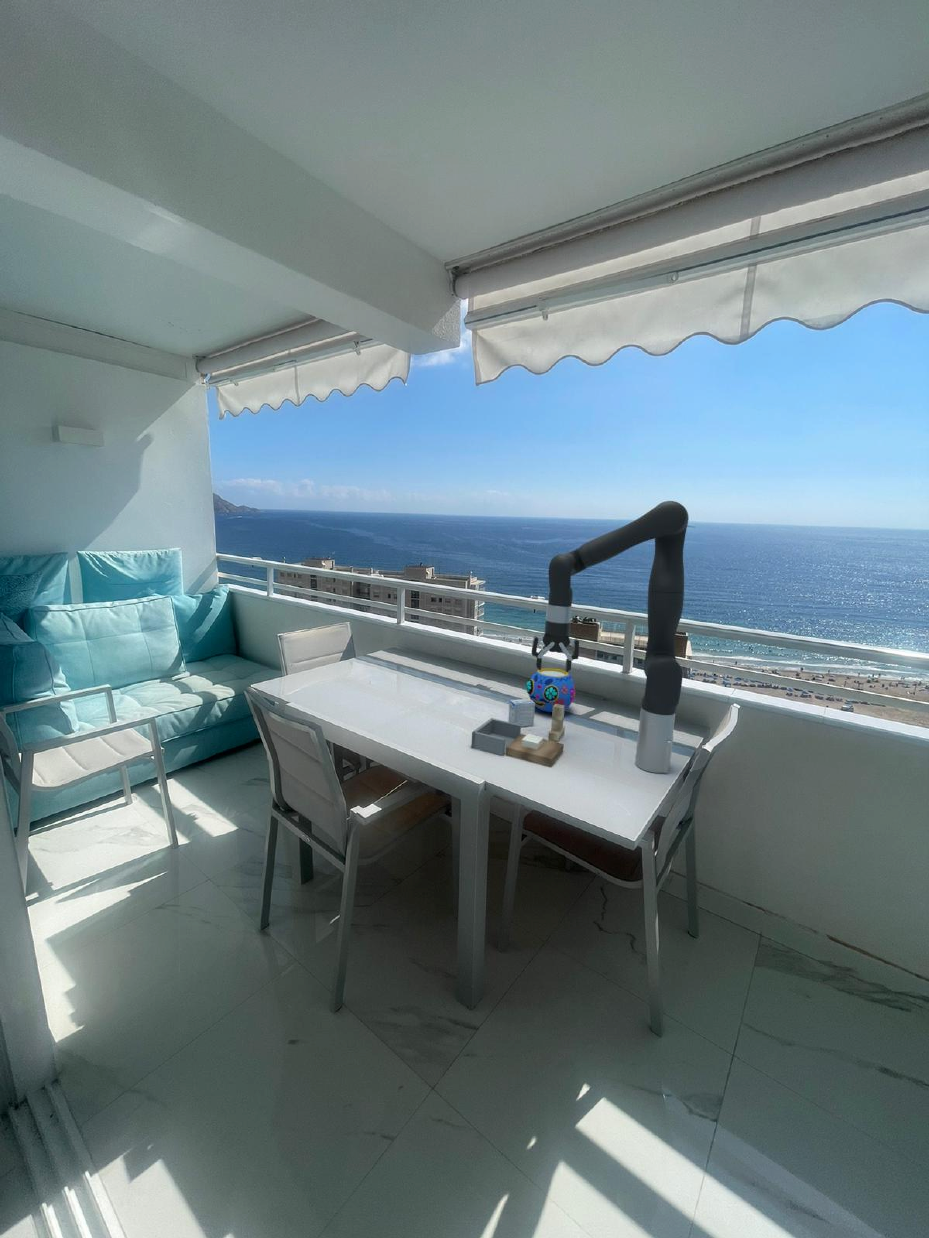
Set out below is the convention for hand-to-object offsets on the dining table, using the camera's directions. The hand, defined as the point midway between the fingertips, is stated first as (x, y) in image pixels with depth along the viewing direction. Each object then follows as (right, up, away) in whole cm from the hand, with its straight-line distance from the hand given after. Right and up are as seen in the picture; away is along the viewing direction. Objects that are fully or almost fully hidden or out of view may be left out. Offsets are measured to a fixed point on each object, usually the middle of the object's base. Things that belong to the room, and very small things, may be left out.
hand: (553, 670), depth 151 cm
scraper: (+2, -23, +7) cm, 24 cm away
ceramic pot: (+5, -19, +33) cm, 38 cm away
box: (-18, -23, +1) cm, 29 cm away
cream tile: (-7, -22, -5) cm, 24 cm away
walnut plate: (-6, -25, -5) cm, 26 cm away
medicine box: (-8, -21, +17) cm, 28 cm away
